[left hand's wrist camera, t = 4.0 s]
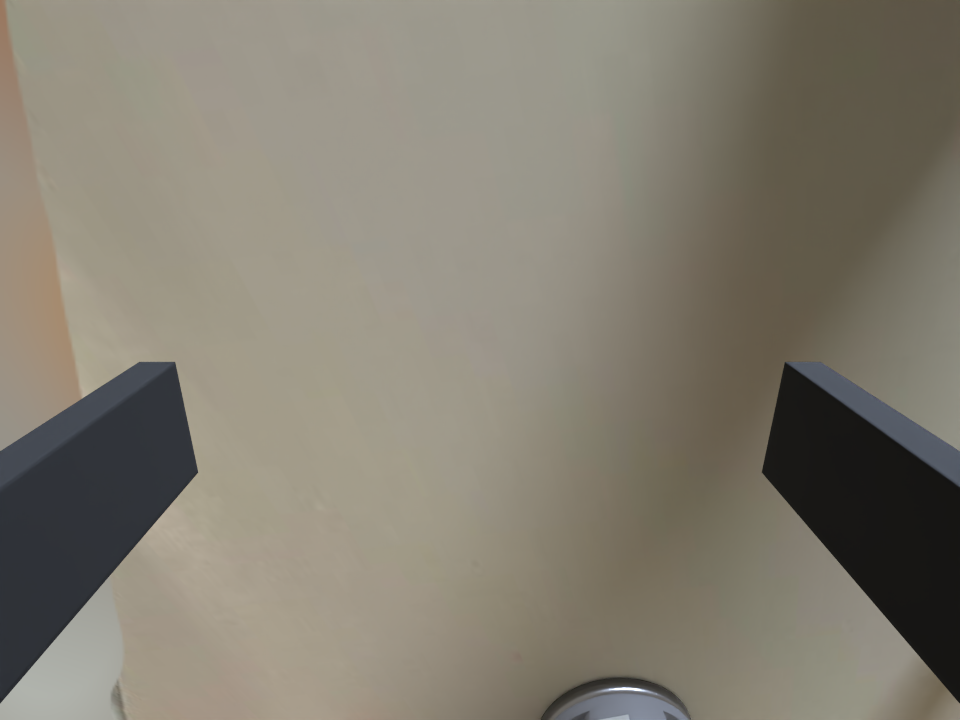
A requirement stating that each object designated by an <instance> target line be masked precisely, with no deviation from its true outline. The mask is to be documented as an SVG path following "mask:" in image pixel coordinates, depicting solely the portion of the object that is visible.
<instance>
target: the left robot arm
mask: <svg viewBox="0 0 960 720" xmlns="http://www.w3.org/2000/svg"><path fill="white" fill-rule="evenodd" d="M197 473H198V470H197V465H196V460H195V455H194V450H193V446H192V441H191V436H190V431H189V426H188V422H187V417H186V412H185V407H184V403H183V398H182V393H181V388H180V383H179V379H178V374H177V369H176V364H175V362H139V363H137V364H136V365H134V366H132V367H131V368H129V369H128V370H126V371H125V372H123V373H122V374H120V375H118V376H117V377H115V378H114V379H112V380H111V381H109V382H108V383H106V384H104V385H103V386H101V387H100V388H98V389H97V390H95V391H94V392H92V393H90V394H89V395H87V396H86V397H84V398H83V399H81V400H80V401H78V402H76V403H75V404H73V405H72V406H70V407H69V408H67V409H66V410H64V411H62V412H61V413H59V414H58V415H56V416H55V417H53V418H51V419H50V420H48V421H47V422H45V423H44V424H42V425H41V426H39V427H38V428H36V429H34V430H33V431H31V432H30V433H28V434H27V435H25V436H23V437H22V438H20V439H19V440H17V441H16V442H14V443H13V444H11V445H9V446H8V447H6V448H5V449H3V450H2V451H0V703H1V702H2V701H3V700H4V698H5V697H6V696H7V695H8V694H9V693H10V691H11V690H12V689H13V688H14V687H15V685H16V684H17V683H18V682H19V681H20V680H21V679H22V677H23V676H24V675H25V674H26V673H27V672H28V670H29V669H30V668H31V667H32V666H33V664H34V663H35V662H36V661H37V660H38V659H39V658H40V656H41V655H42V654H43V653H44V652H45V650H46V649H47V648H48V647H49V646H50V645H51V643H52V642H53V641H54V640H55V639H56V638H57V636H58V635H59V634H60V633H61V632H62V631H63V629H64V628H65V627H66V626H67V625H68V624H69V622H70V621H71V620H72V619H73V618H74V617H75V615H76V614H77V613H78V612H79V611H80V610H81V608H82V607H83V606H84V605H85V604H86V603H87V601H88V600H89V599H90V598H91V597H92V596H93V594H94V593H95V592H96V591H97V590H98V589H99V587H100V586H101V585H102V584H103V583H104V582H105V580H106V579H107V578H108V577H109V576H110V575H111V573H112V572H113V571H114V570H115V569H116V568H117V566H118V565H119V564H120V563H121V562H122V561H123V559H124V558H125V557H126V556H127V555H128V554H129V552H130V551H131V550H132V549H133V548H134V547H135V545H136V544H137V543H138V542H139V541H140V540H141V538H142V537H143V536H144V535H145V534H146V533H147V531H148V530H149V529H150V528H151V527H152V526H153V524H154V523H155V522H156V521H157V520H158V519H159V517H160V516H161V515H162V514H163V513H164V512H165V510H166V509H167V508H168V507H169V506H170V505H171V503H172V502H173V501H174V500H175V499H176V498H177V496H178V495H179V494H180V493H181V492H182V491H183V489H184V488H185V487H186V486H187V485H188V484H189V482H190V481H191V480H192V479H193V478H194V477H195V475H196V474H197ZM762 473H763V474H764V475H765V477H766V478H767V479H768V480H769V481H770V482H771V484H772V485H773V486H774V487H775V488H776V489H777V491H778V492H779V493H780V494H781V495H782V496H783V498H784V499H785V500H786V501H787V502H788V503H789V505H790V506H791V507H792V508H793V509H794V510H795V512H796V513H797V514H798V515H799V516H800V517H801V519H802V520H803V521H804V522H805V523H806V524H807V526H808V527H809V528H810V529H811V530H812V531H813V533H814V534H815V535H816V536H817V537H818V538H819V540H820V541H821V542H822V543H823V544H824V545H825V547H826V548H827V549H828V550H829V551H830V552H831V554H832V555H833V556H834V557H835V558H836V559H837V561H838V562H839V563H840V564H841V565H842V566H843V568H844V569H845V570H846V571H847V572H848V573H849V575H850V576H851V577H852V578H853V579H854V580H855V582H856V583H857V584H858V585H859V586H860V587H861V589H862V590H863V591H864V592H865V593H866V594H867V596H868V597H869V598H870V599H871V600H872V601H873V603H874V604H875V605H876V606H877V607H878V608H879V610H880V611H881V612H882V613H883V614H884V615H885V617H886V618H887V619H888V620H889V621H890V622H891V624H892V625H893V626H894V627H895V628H896V629H897V631H898V632H899V633H900V634H901V635H902V636H903V638H904V639H905V640H906V641H907V642H908V643H909V645H910V646H911V647H912V648H913V649H914V651H915V652H916V653H917V654H918V655H919V656H920V658H921V659H922V660H923V661H924V662H925V663H926V665H927V666H928V667H929V668H930V669H931V670H932V672H933V673H934V674H935V675H936V676H937V677H938V679H939V680H940V681H941V682H942V683H943V684H944V686H945V687H946V688H947V689H948V690H949V691H950V693H951V694H952V695H953V696H954V697H955V698H956V700H957V701H958V702H959V703H960V451H958V450H957V449H955V448H954V447H952V446H951V445H949V444H947V443H946V442H944V441H943V440H941V439H940V438H938V437H937V436H935V435H933V434H932V433H930V432H929V431H927V430H926V429H924V428H923V427H921V426H919V425H918V424H916V423H915V422H913V421H912V420H910V419H909V418H907V417H905V416H904V415H902V414H901V413H899V412H898V411H896V410H895V409H893V408H891V407H890V406H888V405H887V404H885V403H884V402H882V401H880V400H879V399H877V398H876V397H874V396H873V395H871V394H870V393H868V392H866V391H865V390H863V389H862V388H860V387H859V386H857V385H856V384H854V383H852V382H851V381H849V380H848V379H846V378H845V377H843V376H842V375H840V374H838V373H837V372H835V371H834V370H832V369H831V368H829V367H828V366H826V365H824V364H823V363H821V362H785V364H784V369H783V374H782V379H781V383H780V388H779V393H778V398H777V403H776V407H775V412H774V417H773V422H772V426H771V431H770V436H769V441H768V446H767V450H766V455H765V460H764V465H763V470H762ZM541 720H691V718H690V716H689V713H688V711H687V709H686V707H685V706H684V704H683V703H682V702H681V701H680V699H679V698H677V697H676V696H675V695H674V694H673V693H671V692H670V691H668V690H667V689H665V688H663V687H661V686H659V685H656V684H653V683H650V682H647V681H643V680H637V679H629V678H613V679H604V680H599V681H594V682H590V683H587V684H584V685H581V686H579V687H577V688H574V689H572V690H571V691H569V692H567V693H565V694H564V695H562V696H561V697H560V698H558V699H557V700H556V701H555V702H554V703H553V704H552V705H551V706H550V707H549V708H548V709H547V711H546V712H545V713H544V715H543V717H542V719H541Z"/></svg>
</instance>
